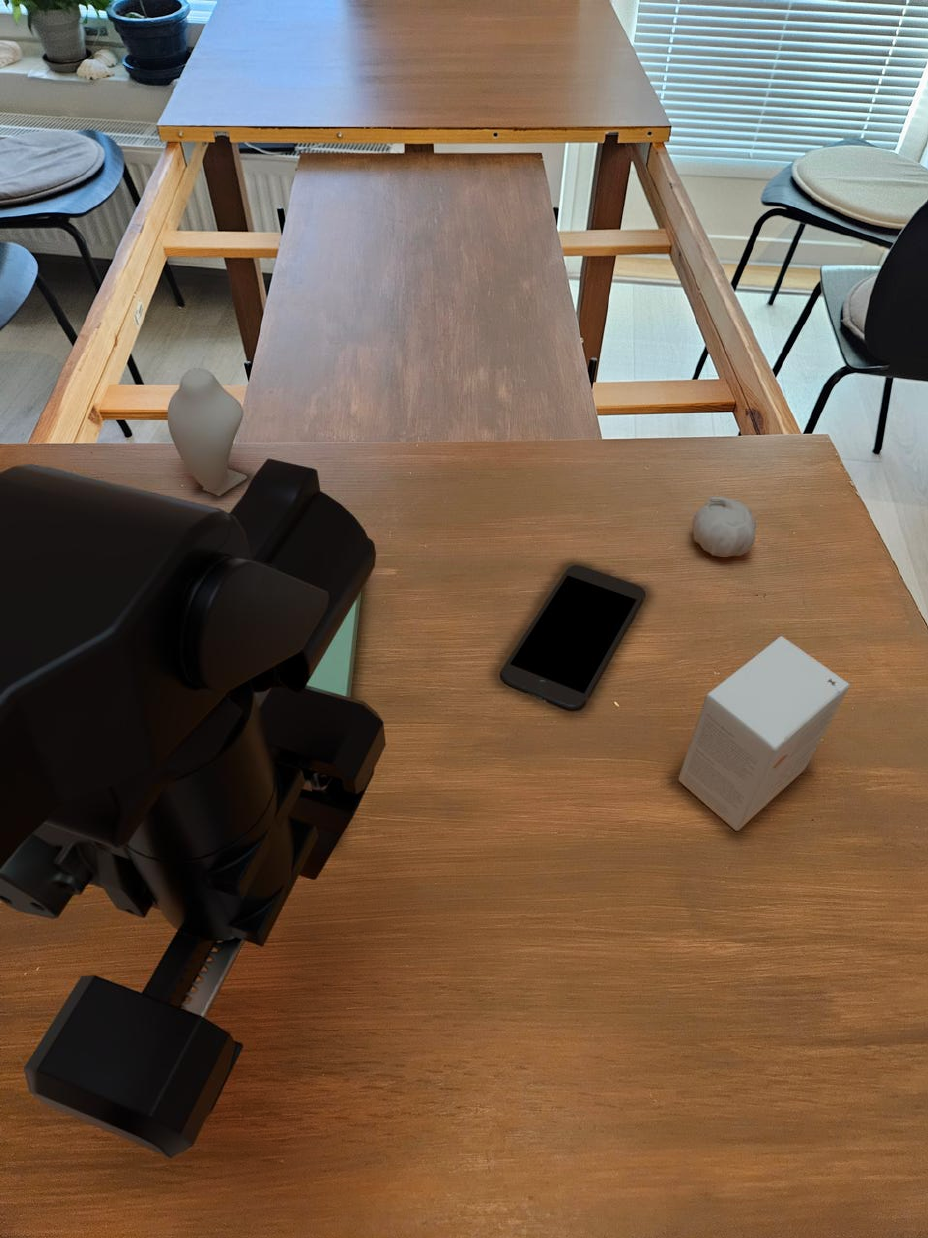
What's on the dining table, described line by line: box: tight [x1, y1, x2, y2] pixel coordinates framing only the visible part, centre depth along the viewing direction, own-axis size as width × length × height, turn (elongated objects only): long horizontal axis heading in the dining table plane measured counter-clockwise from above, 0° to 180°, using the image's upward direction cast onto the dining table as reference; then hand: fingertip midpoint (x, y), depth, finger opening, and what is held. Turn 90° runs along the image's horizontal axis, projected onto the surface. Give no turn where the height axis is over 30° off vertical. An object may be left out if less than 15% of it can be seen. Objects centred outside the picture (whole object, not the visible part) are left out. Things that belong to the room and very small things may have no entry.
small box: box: [678, 635, 851, 832], centre depth 61 cm, size 8×6×10 cm
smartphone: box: [499, 564, 646, 712], centre depth 74 cm, size 7×15×1 cm, turn 152°
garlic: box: [691, 495, 757, 558], centre depth 79 cm, size 6×5×5 cm
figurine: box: [166, 367, 248, 497], centre depth 82 cm, size 8×5×12 cm
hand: (265, 960), depth 42 cm, fingers open, 9 cm apart
